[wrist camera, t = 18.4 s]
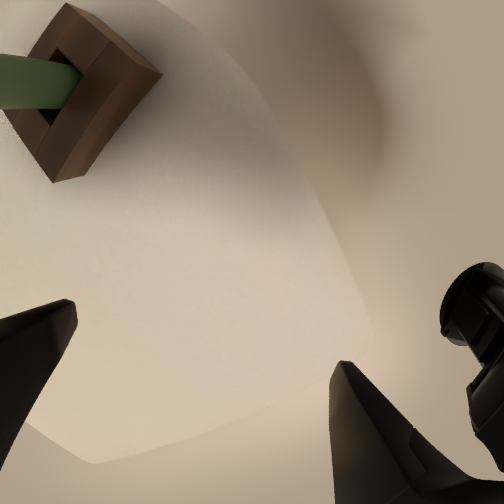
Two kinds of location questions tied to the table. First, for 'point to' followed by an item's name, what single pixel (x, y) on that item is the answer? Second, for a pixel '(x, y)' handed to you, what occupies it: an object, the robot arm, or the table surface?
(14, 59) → the peg
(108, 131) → the holder
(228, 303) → the table surface
